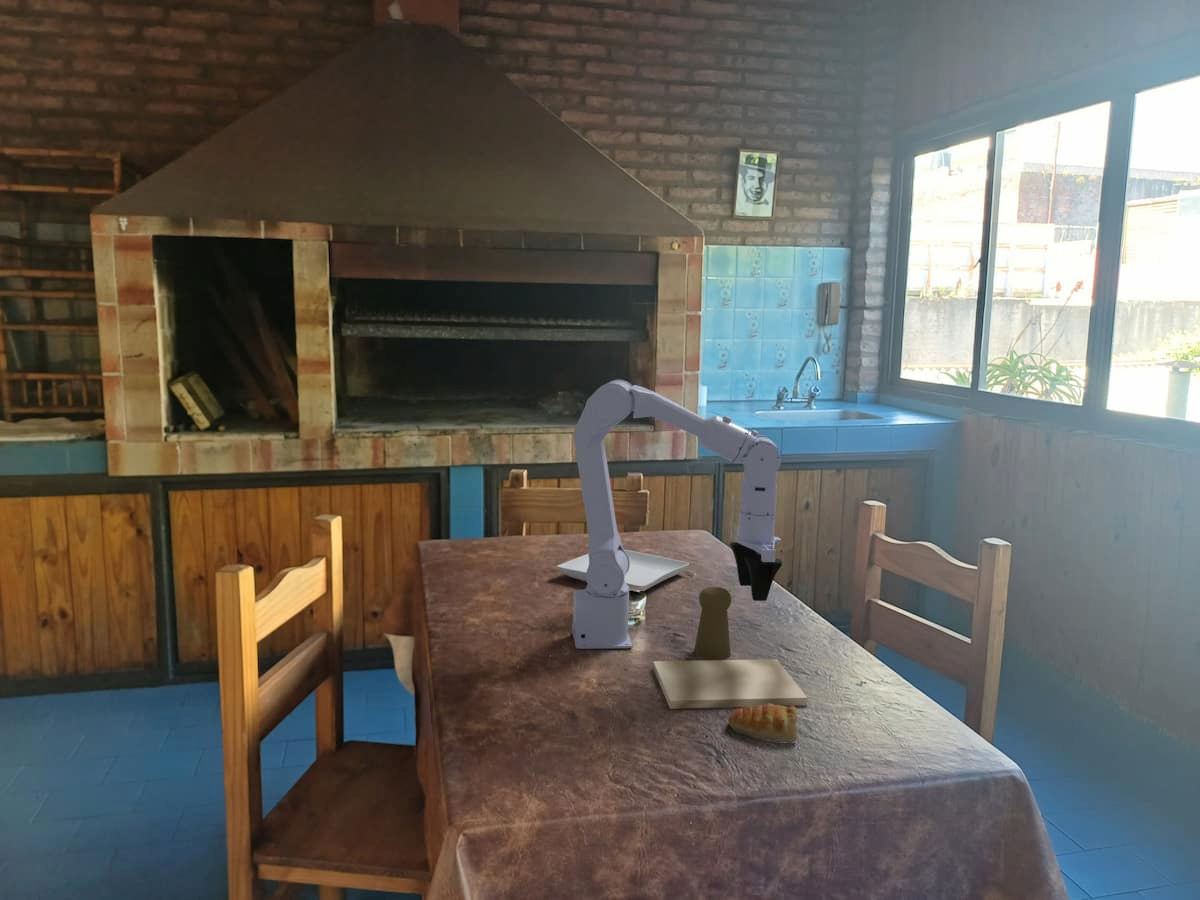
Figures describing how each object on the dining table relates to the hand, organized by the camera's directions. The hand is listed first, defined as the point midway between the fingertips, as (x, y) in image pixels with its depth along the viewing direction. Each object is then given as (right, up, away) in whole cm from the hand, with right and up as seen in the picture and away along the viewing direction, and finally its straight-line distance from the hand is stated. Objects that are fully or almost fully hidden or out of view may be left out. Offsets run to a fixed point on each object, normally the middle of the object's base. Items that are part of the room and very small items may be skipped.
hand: (752, 592), depth 141 cm
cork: (-7, -10, +1) cm, 12 cm away
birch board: (-6, -12, -12) cm, 18 cm away
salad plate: (-20, -4, +41) cm, 46 cm away
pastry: (-3, -15, -26) cm, 30 cm away
